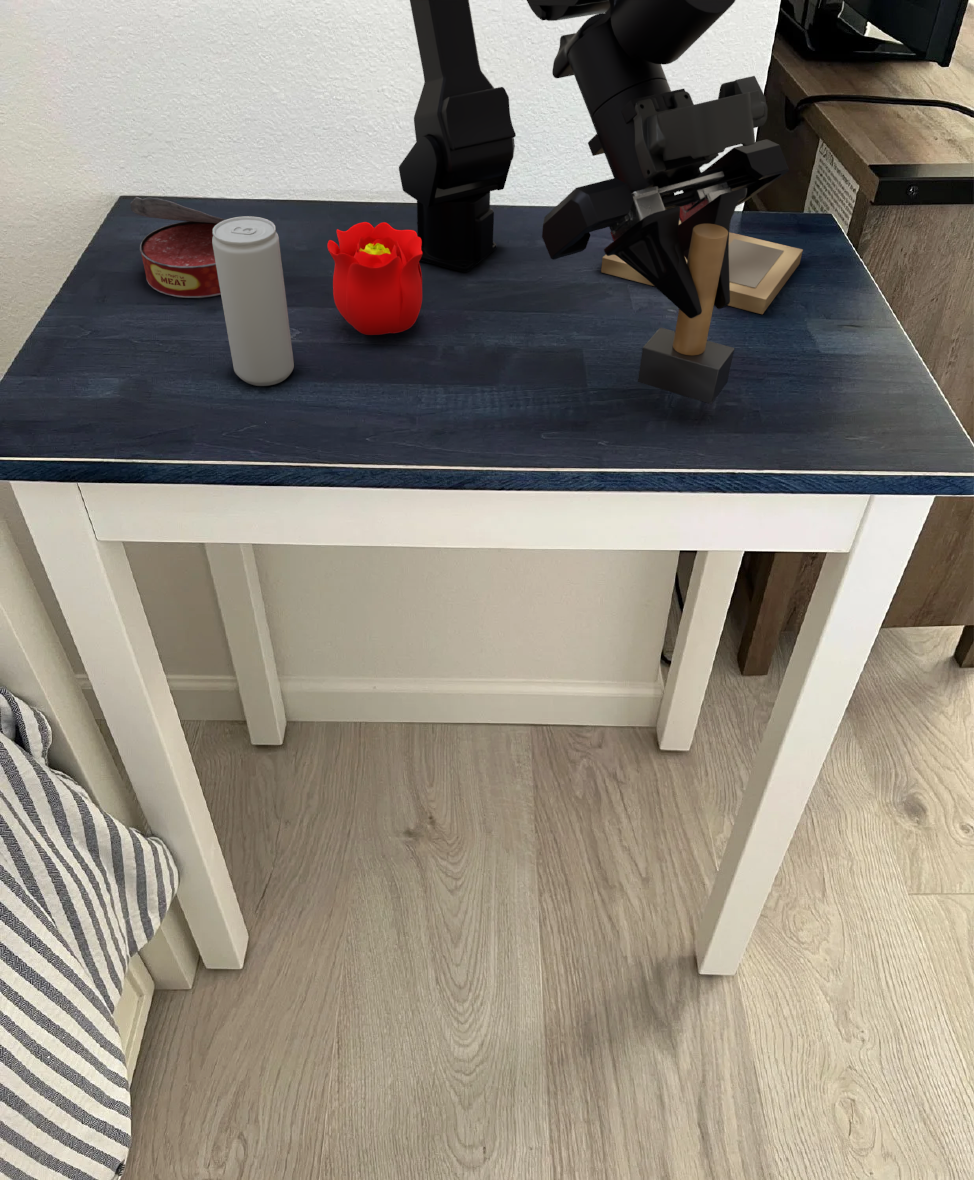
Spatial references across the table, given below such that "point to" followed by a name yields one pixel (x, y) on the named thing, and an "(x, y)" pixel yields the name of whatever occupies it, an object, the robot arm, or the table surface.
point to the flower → (377, 277)
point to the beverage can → (254, 299)
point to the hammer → (692, 331)
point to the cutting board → (739, 270)
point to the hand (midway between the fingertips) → (710, 311)
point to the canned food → (179, 250)
